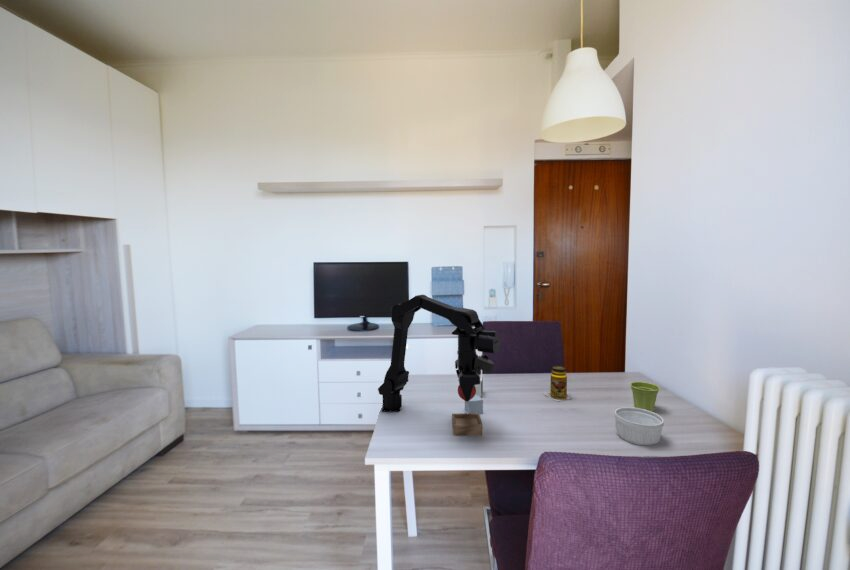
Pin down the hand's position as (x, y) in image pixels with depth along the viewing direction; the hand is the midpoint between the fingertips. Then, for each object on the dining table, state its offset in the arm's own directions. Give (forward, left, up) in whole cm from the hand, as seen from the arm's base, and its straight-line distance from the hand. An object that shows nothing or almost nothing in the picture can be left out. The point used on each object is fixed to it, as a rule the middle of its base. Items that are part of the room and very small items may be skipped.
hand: (466, 396), depth 121 cm
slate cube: (+4, +14, -11) cm, 18 cm away
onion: (0, 0, -2) cm, 2 cm away
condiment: (+39, +28, -11) cm, 49 cm away
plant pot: (+66, +15, -11) cm, 69 cm away
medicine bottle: (+6, +31, -11) cm, 33 cm away
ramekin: (+52, -6, -11) cm, 54 cm away
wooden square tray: (0, 0, -11) cm, 11 cm away
